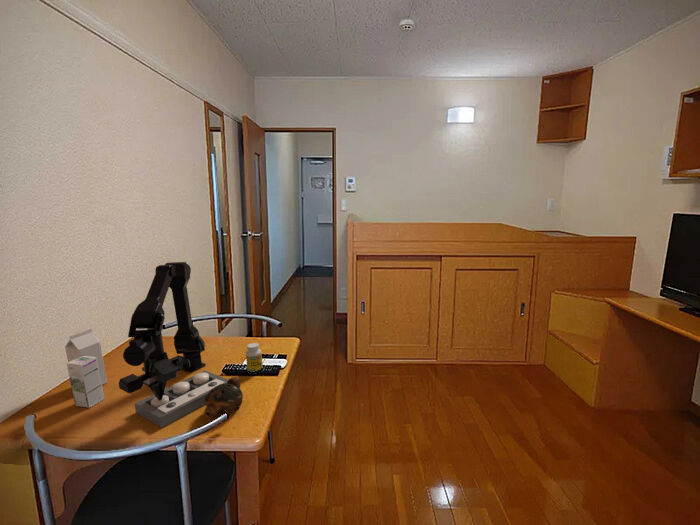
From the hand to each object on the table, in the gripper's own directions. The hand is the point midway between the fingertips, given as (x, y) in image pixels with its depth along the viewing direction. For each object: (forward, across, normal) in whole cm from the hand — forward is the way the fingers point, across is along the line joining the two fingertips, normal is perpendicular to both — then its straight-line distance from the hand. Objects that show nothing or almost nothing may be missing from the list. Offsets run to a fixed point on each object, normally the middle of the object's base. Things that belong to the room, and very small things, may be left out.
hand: (159, 399), depth 119 cm
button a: (+2, 0, 0) cm, 2 cm away
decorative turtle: (+3, +10, -17) cm, 20 cm away
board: (+3, +7, -2) cm, 8 cm away
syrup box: (+3, -10, +23) cm, 25 cm away
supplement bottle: (+3, +32, -5) cm, 33 cm away
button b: (+1, +7, 0) cm, 7 cm away
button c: (+1, +14, 0) cm, 14 cm away
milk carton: (+3, -5, +35) cm, 36 cm away
